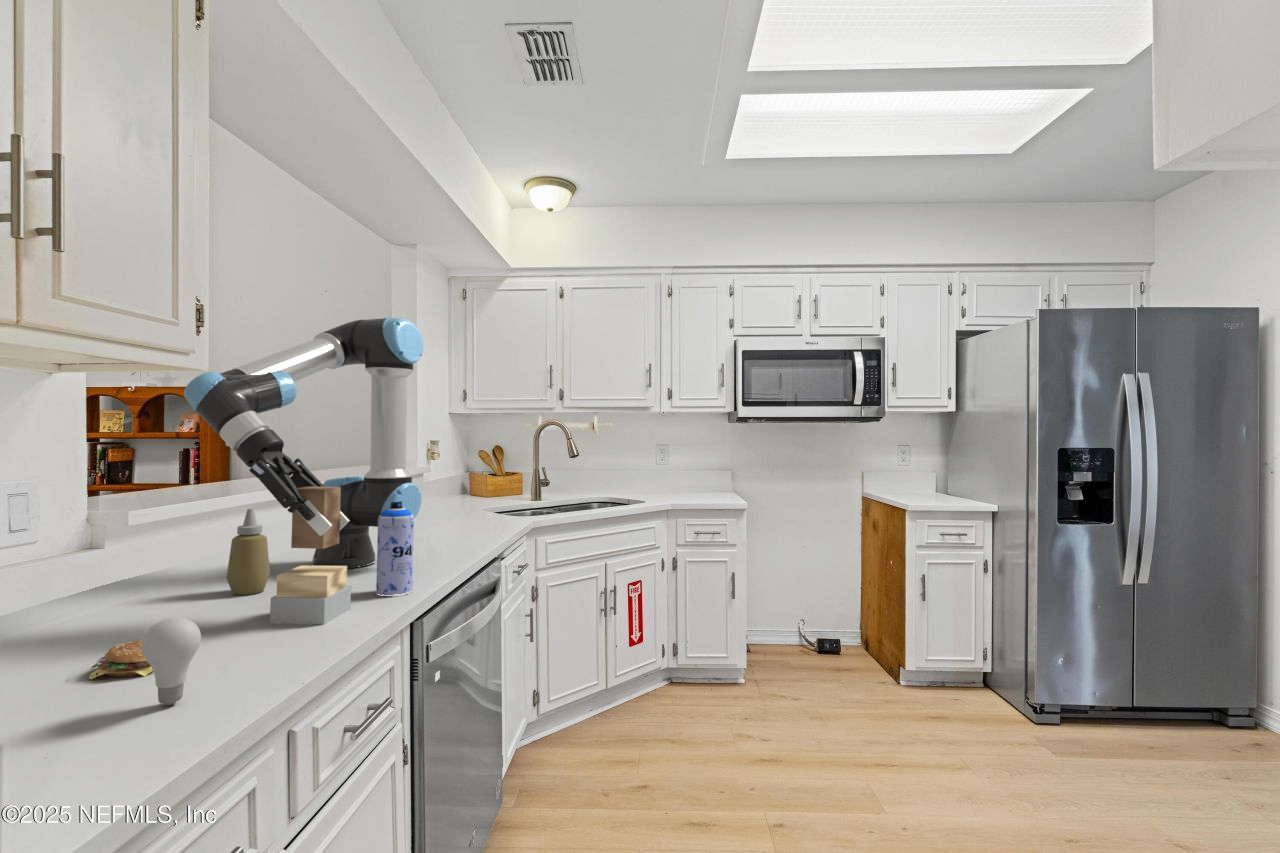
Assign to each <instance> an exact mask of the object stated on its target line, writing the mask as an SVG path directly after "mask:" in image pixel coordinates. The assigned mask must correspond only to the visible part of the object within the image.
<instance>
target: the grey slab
mask: <svg viewBox="0 0 1280 853" xmlns="http://www.w3.org/2000/svg"><path fill="white" fill-rule="evenodd" d="M351 591H352V586H350V585H347V586H346V587H344V588H343V589H341V590H339V591H337V592H336V593H334V594H332V595H330V596H329V597H327V598H308V597H276V596H277V594H276V595H274V596H272V597H270V609H269V610H270V611H269V612H270V613H269V624H276V625H278V624H279V625H281V624H282V625H285V624H286V625H312V624H322V625H324V624H325V625H326V624H328V623H330V622H331V620H332V621H334V620H335V619H337V618H338V616H339V617H340V615H341V614H342V615H344V614H345V612H346V611H348V610H349V611H351V600H352V598H351V595H352V592H351ZM349 611H348V612H349ZM343 613H344V614H343ZM346 613H347V612H346ZM342 615H341V616H342ZM336 617H337V618H336ZM334 618H335V619H334ZM329 621H330V622H329ZM327 622H328V623H327ZM325 625H324V626H325Z"/></svg>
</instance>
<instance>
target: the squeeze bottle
mask: <svg viewBox="0 0 1280 853" xmlns="http://www.w3.org/2000/svg"><path fill="white" fill-rule="evenodd" d="M242 524H243V525H239V526H237V530H236V533H237V535H235V536H234V537H233V538H232V539H231V544H230V550H229V551H230V552H229V558H228V565H227V570H226V571H227V572H226V580H227V584H228V586H229V588H230V592H231V593H232V594H233V595H239V596H249V595H255V594H258V593H262V592H264V590H265V587H266V585H267V583H268V580H269V577H270V575H271V570H270V559H269V546H268V537H267V536H266V535H264V534H263V525H261V524H258V522H257V518H256V514H255V509H254V508H247V510H246V512H245V516H244V519H243V523H242Z"/></svg>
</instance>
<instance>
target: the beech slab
mask: <svg viewBox="0 0 1280 853" xmlns="http://www.w3.org/2000/svg"><path fill="white" fill-rule="evenodd" d="M346 586H348V569H347V566H313V565H305V564H304V565H303V564H302V565H298V566H296V567H294V568H291V569H289V570H287V571H284V572H282V573H279V574H278V575H276V595H277V596H276V595H275V596H276V597H308V598H327V597H329V596H330V595H332V594H334V593H336V592H337V591H339V590H341V589H343V588H344V587H346Z"/></svg>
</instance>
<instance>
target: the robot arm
mask: <svg viewBox="0 0 1280 853" xmlns="http://www.w3.org/2000/svg"><path fill="white" fill-rule="evenodd" d="M423 341H424V340H423V338H422V335H421V332H420V331H419V329H418V328H417V326H416V325H415V324H414V323H413V322H412V321H410V320H409V319H407V318H403V317H385V318H384V317H383V318H372V319H371V318H370V319H357V320H352V321H349V322H346V323H344V324H340V325H338V326H336V327H333V328H330V329H327V330H325V331H323V332H319V333H318V334H316V335H315V336H314V337H313V339H312V340H310V341H306V342H304V343H301V344H298V345H296V346H294V347H293V346H292V347H290V348H286V349H285V350H282V351H279V352H276V353H273V354H271V355H268V356H265V357H262V358H260V359H258V360H255V361H252V362H251V361H250V362H248V363H247V364H246V363H245V364H244V365H241V366H238V367H235V368H233V369H229V370H226V371H224V372H220V373H219V372H214V371H209V372H204V373H201V374H200V375H197V376H196V377H194V378H193V379H192V380H190V381H189V382H188V384H187V385H186V387H185V389H184V390H183V396H184V398H185V400H186V401H187V402H188V404H189V405H190V406H191V408H192V409H193V410H194V412H195V413H196V414H198V415H199V416H200V417H201V419H203V421H204V422H206V423H207V425H208V426H210V427H211V429H212V430H213V431H214V432H215V433H216V434H217V435H218V436H219V437H220V438H221V439H222V440H223V441H224V442H225V446H226V447H229V448H230V449H231V450H232V451H233V452H235V453H236V455H237V457H238V458H240V460H241V461H242V462H243V464H245V465H246V466H247V467H248V468H249V473H251V474H252V475H254V477H256V478H257V480H259V481H260V482H261V483H262V484H263V486H264V487H265V488H266V489H267V490H268V491H269V493H270V494H271V495H272V496H273V497H274V498H275V500H277V502H278V503H279V504H280V505H281V507H283V508H284V509H287V511H288V513H290V514H292V512H293V511H294V510H295V509H296V511H297V512H298V513H299V514H300V515H301V516H302V517H303V518H304V520H305V521H306V522H307V523H308V524H309V525H310V526H311V527H312V528H313V529H314V530H315V531H316V532H317V534H318V535H319V536H322V535H323V534H324V533H325V532H326V531H327V530H328V529H329V528H330V527H331V526H332V524H331V523H330V522H329V521H328V520H327V519H326V518H325V517H324V516H323V515H322V514H321V513H320V512H319V510H318V509H317V508H316V507H315V506H314V505H313V504H312V503H311V502H310V501H309V500H307V501H305V499H304V498H303V496H302V495H301V493H300V492H299V490H298V489H297V488H302V487H310V486H316V487H341V498H340V532H339V544H336V545H333V546H330V547H327V548H324V549H314V550H315V551H314V554H313V556H312V566H347V568H349V569H354V568H353V567H358V566H363V565H367V564H370V563H372V562H374V561H375V562H376V553H375V550H374V546H373V543H372V540H371V537H370V533H369V532H370V527H372V528H373V527H374V528H378V518H379V515H381V513H382V512H383V511H384V510H386V509H387V508H390V507H391V502H400V501H402V507H404V508H405V509H407V510H409V511H410V512H411V514H413V518H414V519H415V518H416V517H417V516H418V514H419V513H420V510H421V506H422V499H423V498H422V492H421V490H420V488H419V487H418V486H417V485H416V484H415V483H413V478H412V477H413V474H412V473H410V471H409V470H408V469H407V413H408V412H407V410H408V409H407V407H408V406H407V402H408V397H407V396H408V395H407V394H408V390H407V389H408V377H409V376H410V375H411V374H413V372H414V364H416V363H417V362H419V360H420V359H421V357H422V356H423V353H424V342H423ZM351 365H364V369H365V371H366V372H367V373H368V374H369V375H370V378H371V383H370V384H371V393H370V394H371V396H370V397H371V398H370V408H371V410H370V469H369V470H368V471H367V472H366V473H365V474H364V475H357V476H347V477H337V478H329V479H327V480H324V482H323V483H322V482H321V481H320V480H319V479H318V478H317V477H316V476H315V475H314V474H313V473H312V472H311V471H310V469H308V467H307V466H305V464H304V463H303V461H302V460H301V459H300V458H296V459H295V460H293V459H292V458H291V457H289V456H287V455H286V454H285V453H284V452H283V448H284V445H285V443H284V440H283V439H282V438H280V436H279V435H278V434H277V433H276V432H275V431H274V430H273V429H271V427H270V425H269V424H268V423H267V422H266V421H265V419H263V418H262V417H261V416H260V414H261V413H265V412H268V411H273V410H277V409H281V408H284V407H286V406H288V405H290V404H292V403H294V401H295V399H296V398H297V393H298V392H297V391H298V390H297V386H296V382H297V381H300V380H302V379H305V378H306V377H309V376H311V375H314V374H316V373H319V372H321V371H323V370H326V369H329V370H336V369H339V368H342V367H344V366H351ZM304 501H305V502H304ZM358 568H359V567H358Z"/></svg>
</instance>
